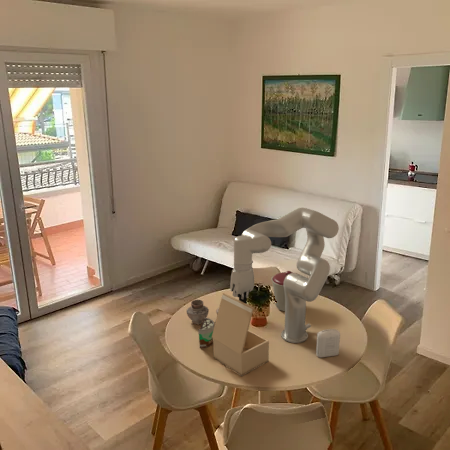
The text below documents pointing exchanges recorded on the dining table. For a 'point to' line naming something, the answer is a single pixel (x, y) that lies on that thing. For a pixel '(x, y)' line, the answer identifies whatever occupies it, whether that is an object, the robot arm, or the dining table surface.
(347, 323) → the dining table surface
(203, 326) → the food container
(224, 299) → the carton lid
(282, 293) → the canister
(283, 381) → the dining table surface
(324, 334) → the photo printer
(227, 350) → the carton
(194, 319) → the pottery
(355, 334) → the dining table surface
